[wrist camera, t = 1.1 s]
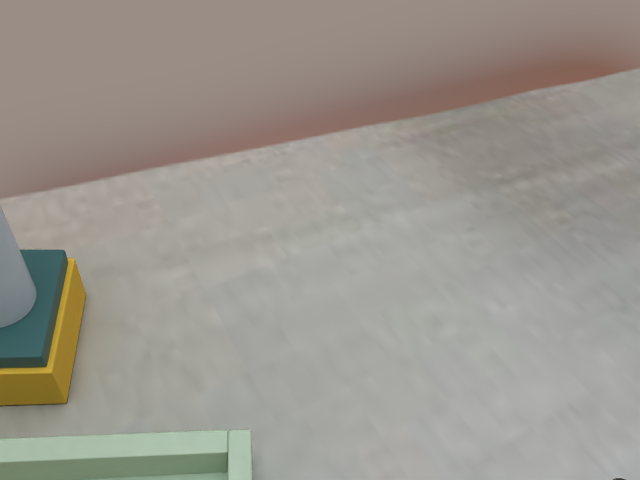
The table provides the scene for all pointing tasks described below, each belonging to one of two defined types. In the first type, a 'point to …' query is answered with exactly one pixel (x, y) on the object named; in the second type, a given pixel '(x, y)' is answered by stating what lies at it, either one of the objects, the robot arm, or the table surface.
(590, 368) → the table surface
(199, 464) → the tray
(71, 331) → the rubber stamp
